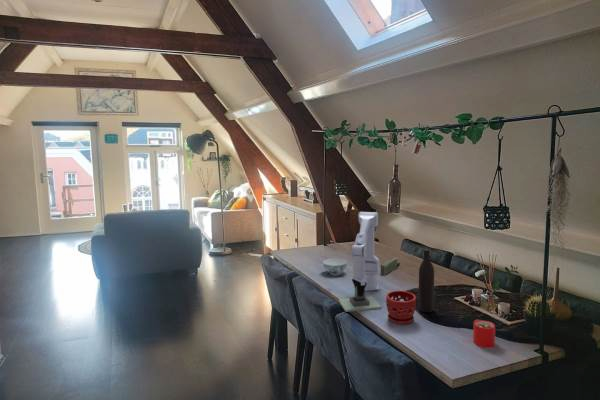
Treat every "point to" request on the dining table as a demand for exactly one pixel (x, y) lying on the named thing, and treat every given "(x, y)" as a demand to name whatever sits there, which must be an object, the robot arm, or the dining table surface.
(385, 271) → the handheld radio
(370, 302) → the end holder
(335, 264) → the chinaware
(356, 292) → the connector plug
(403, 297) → the plant pot
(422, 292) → the wine bottle
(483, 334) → the red cylinder
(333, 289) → the dining table surface
